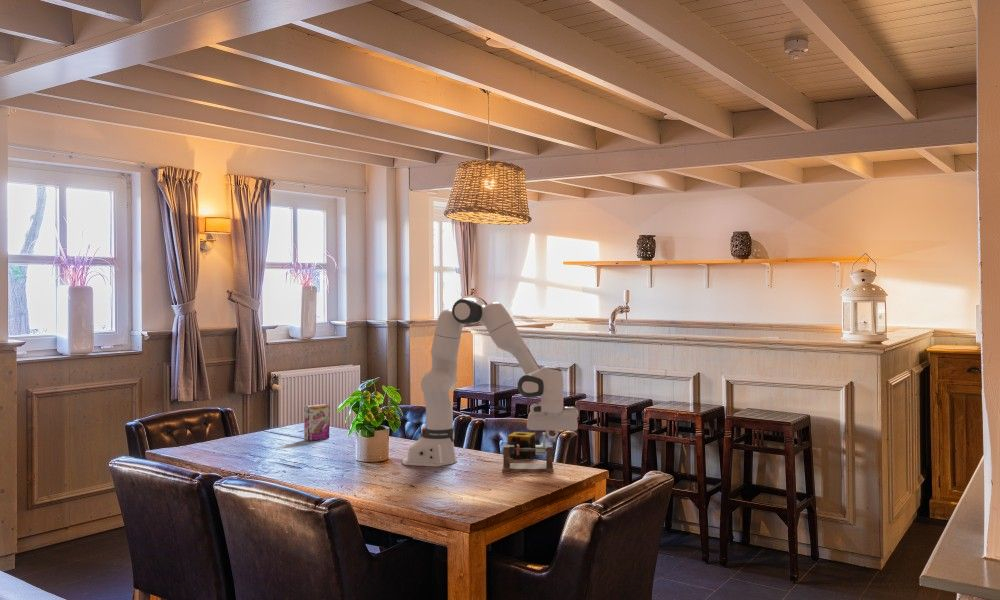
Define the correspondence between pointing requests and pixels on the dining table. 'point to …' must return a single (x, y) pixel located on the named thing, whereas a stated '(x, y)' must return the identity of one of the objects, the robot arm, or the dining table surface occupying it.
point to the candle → (522, 444)
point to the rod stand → (527, 466)
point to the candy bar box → (316, 422)
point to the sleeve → (541, 446)
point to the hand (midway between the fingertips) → (552, 441)
